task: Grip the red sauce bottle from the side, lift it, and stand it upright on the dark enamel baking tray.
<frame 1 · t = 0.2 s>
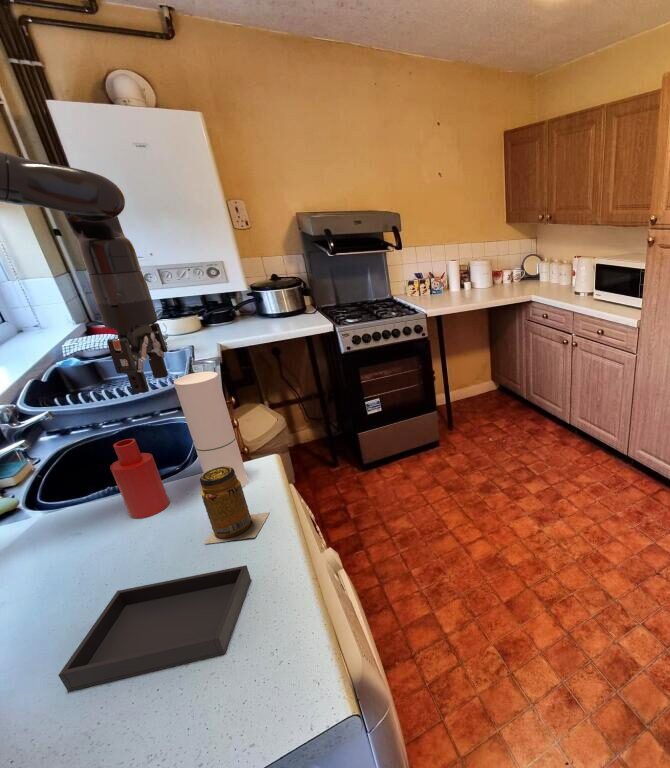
hand: (151, 384, 83), 25 cm above the countertop, tool pointing down, fingers open, 8 cm apart
cylindrical container: (229, 486, 94), on the countertop
bottle: (150, 508, 87), on the countertop
baking tray: (171, 628, 62), on the countertop
condiment: (238, 529, 81), on the countertop
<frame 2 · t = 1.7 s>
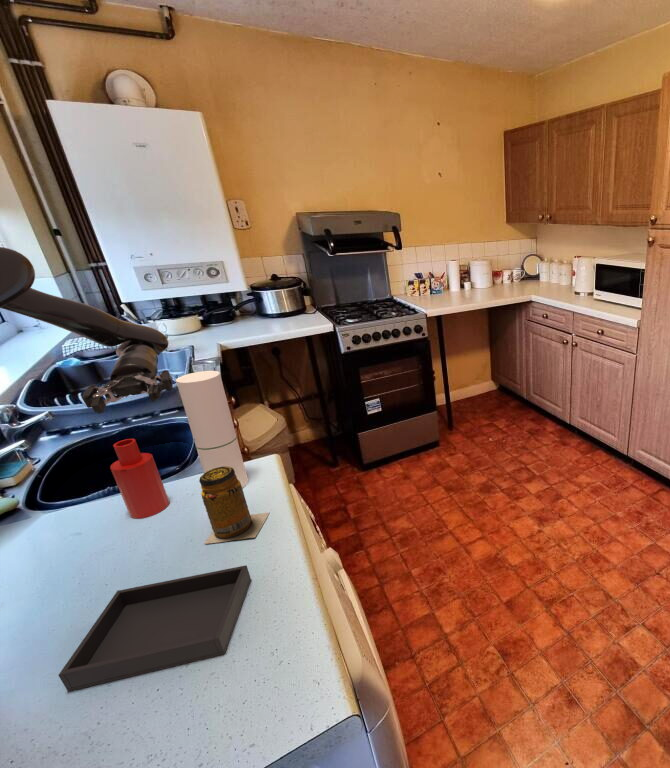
hand: (125, 403, 87), 20 cm above the countertop, tool horizontal, fingers open, 8 cm apart
nothing on the countertop moved.
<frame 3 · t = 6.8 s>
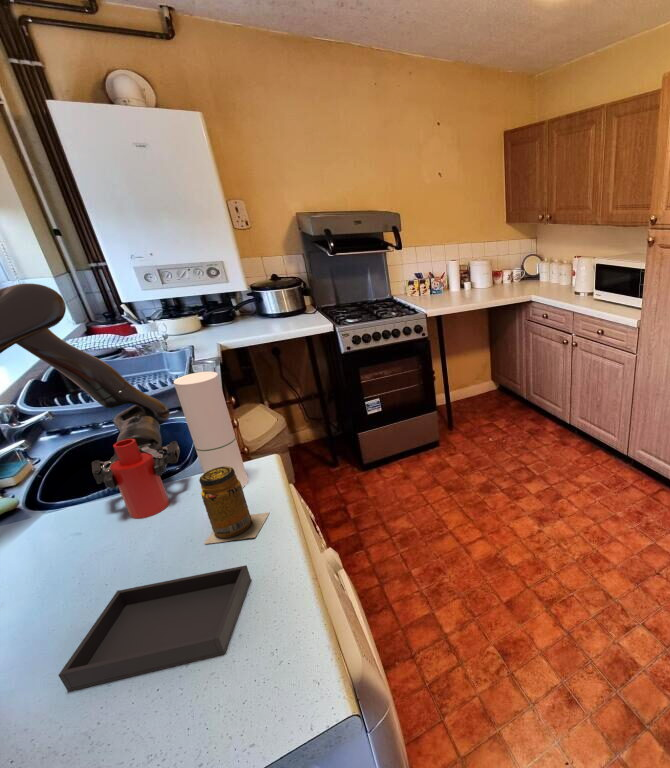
hand: (135, 477, 82), 9 cm above the countertop, tool horizontal, fingers closed on bottle, 6 cm apart
bottle: (150, 508, 87), on the countertop, touching gripper
everything else where it was.
when the fingers open (9 cm above the countertop, at t = 19.0 s): bottle stays where it is, resting on baking tray.
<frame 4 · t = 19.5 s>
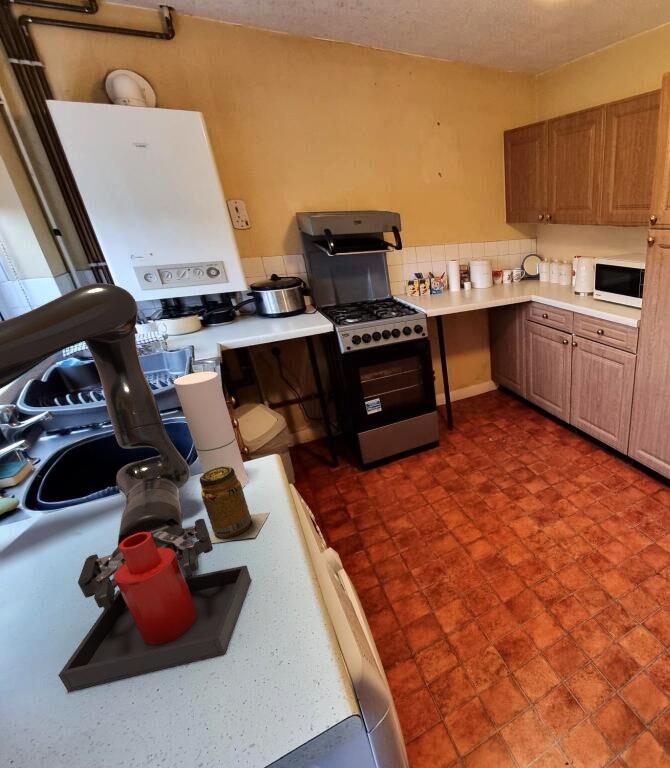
hand: (149, 587, 57), 9 cm above the countertop, tool horizontal, fingers open, 8 cm apart
bottle: (171, 625, 62), resting on baking tray
everything else where it was.
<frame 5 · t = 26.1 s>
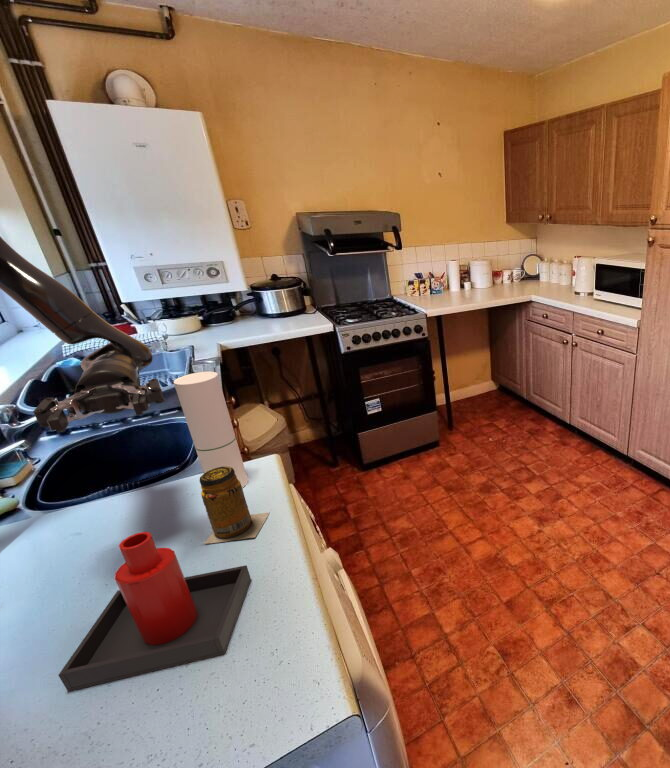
hand: (99, 417, 62), 28 cm above the countertop, tool horizontal, fingers open, 8 cm apart
nothing on the countertop moved.
at the end: bottle inside the target area in the baking tray (0.1 cm from its centre), point 0.5 cm above the baking tray's base; bottle tilted 0°; the gripper is holding nothing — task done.
